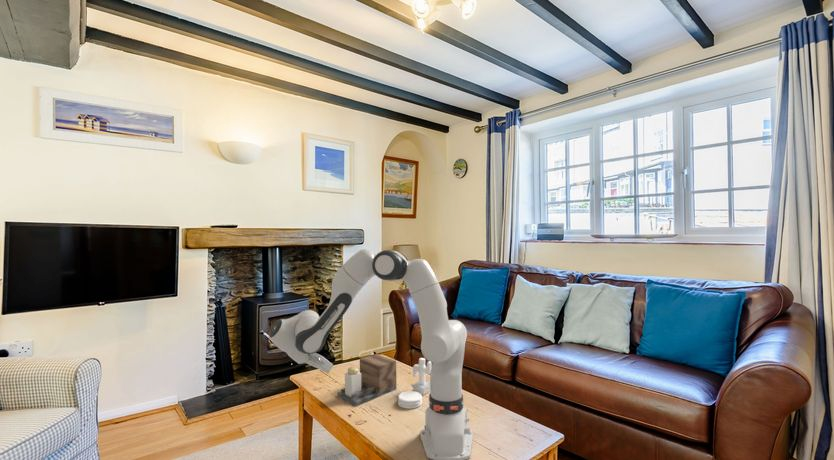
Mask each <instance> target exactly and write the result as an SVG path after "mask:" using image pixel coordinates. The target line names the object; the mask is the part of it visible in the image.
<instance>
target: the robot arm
mask: <svg viewBox="0 0 834 460" xmlns="http://www.w3.org/2000/svg"><path fill="white" fill-rule="evenodd" d="M375 276H376V277H377V278H378V279H381V280H383V281H389V282H394V281H395V282H396V281H400V280H402V281H403V282H404V283H405V284H406V286H407V289H408V290H409V291H408V292H409V294H410V297H411V298H412V299H411V300H412V302H413V305H414V307H415V309H416V313H417V316H418V319H419V325H420V332H421V343H420V350H421V353H422V356H423V358H425V360H427V362H429V361H430V362H431V363H432V364H431V372H430V374H429V376H430V377H429V379H430V381H429V382H430V391H429V395H428V405H429V406H428V407H427V408H426V409H425V411H424V413H425V417H424V421H425V422H424V428H423V429H420V431H419V436H420V440H421V444H422V446H423V449H424V453H425V455H426V458H428V459H430V460H468V459H470V458H471V456H472V455H471V454H472V448H473V447H472V446H473V439H474V431H473V430H472V429H471V427H470V426H468V423H469V421H470V419H469V417H468V410H467V409H466V407H464V395H463V392H462V389H463V387H462V385H463V383H462V381H463V380H462V378H463V377H462V376H463V375H462V373H463V364H464V358H465V347H466V340H467V337H468V330H467V327H466V326H465V325H464V323H463V322H461V321H460V320H458V319H449V315H448V309H447V308H448V303H447V300H446V297H445V294H444V292H443V290H442V288H441V284H440V282H439V281H438V278H437V276H436V274H435V271H434V270H433V268H432V267H431V265H430V264H429V262H428V261H427V260H426V259H424V258H415V259H412V260H409V259H408V258H407V256H405V255H404V254H403V253H400V252H399V251H396V250H392V249H391V250H390V249H385V250H381V251H380V252H378V253H375V252H373V251H372V250H371V249H367V248H362V249H360V250H358V251H356V253H354V254H353V255H352V256H351V257H350V258H349V259H347V260H346V261H345V262H344V264H343V265H341V267H340V268H339V269H338V270H337V272H336V273H335V275H334V276H333V278H332V280H331V281H332V283H331V295H330V300H329V303H328V306H327V307H326V309H324V311H323V312H322V314H321V315H319V313H318V312H317V311H315V310H312V309H305V310H302V311H300V312H299V313H297V314H296V315H294V316H292V317H289V318H286V319H282V318H281V319H279V320H276V322H274V324H272V326H271V328H270V331H269V340H270V341H271V342H272V343H273V344H274V345H275V346H276V347H277V348H278V349H279V350H280V351H281V352H284V353H286V354H287V355H288V357H289V358H290V359H291V360H293V361H294V362H295V363H297V364H299V365H301V364H302V365H303V364H307V365H310V366H311V367H314V368H316V369H318V370H320V371H322V372H324V373H326V374H329V373H330V372H331V371H332V369H333V366H334V364H333V363H332V362H330V361H329V360H328V359H326V358H325V356H323V355H321V354H319V353H317V352H320V350H322V349H323V347H324V346H325V344H326V341H327V340H328V339H327V338H328V336H329V335H330V333H331V332H332V331H333V330H334V329H335V326H337V324H338V322H340V320H341V319H342V318H343V316H344V315H345V314H346V312H347V311H348V309H349V308H350V306H351V304H352V303H353V301H354V299H355V298H356V296H357V295H358V294H359V292H360V291H361V290H362V289H363V288H364V286H366V284H367V283H368V281H370V280H371V279H372V278H374V277H375Z"/></svg>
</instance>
